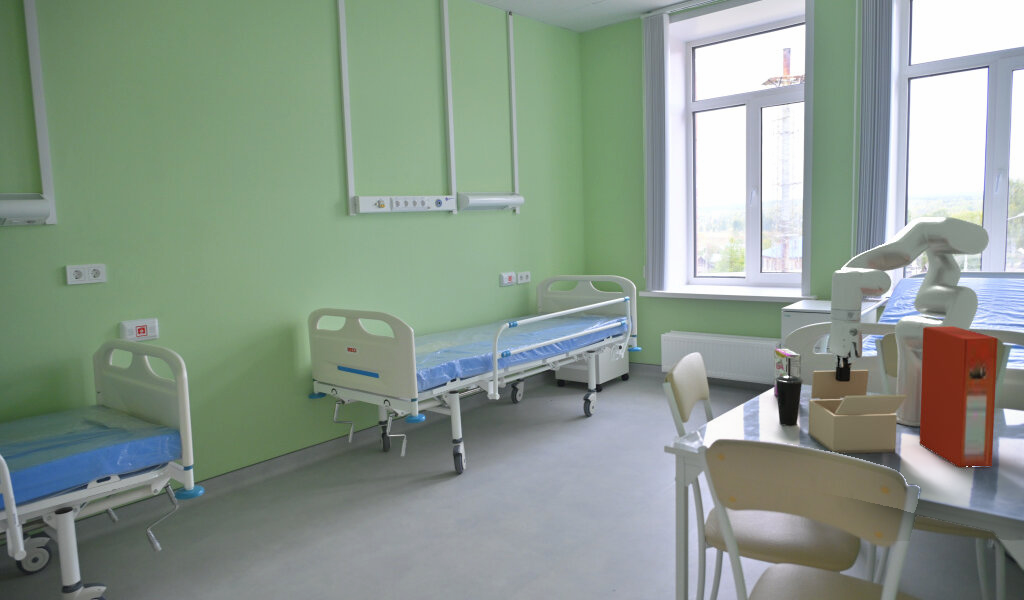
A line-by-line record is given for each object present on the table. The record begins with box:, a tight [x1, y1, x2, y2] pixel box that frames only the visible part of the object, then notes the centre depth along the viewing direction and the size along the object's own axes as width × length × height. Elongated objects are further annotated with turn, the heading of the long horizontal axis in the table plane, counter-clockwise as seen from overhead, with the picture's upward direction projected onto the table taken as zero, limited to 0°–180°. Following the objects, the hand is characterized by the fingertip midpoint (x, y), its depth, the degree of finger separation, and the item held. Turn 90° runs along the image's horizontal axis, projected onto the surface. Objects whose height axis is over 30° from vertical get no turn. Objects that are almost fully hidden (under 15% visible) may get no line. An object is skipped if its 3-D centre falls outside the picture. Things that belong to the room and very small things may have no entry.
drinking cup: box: [775, 358, 804, 427], centre depth 200 cm, size 8×8×20 cm
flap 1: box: [810, 369, 869, 399], centre depth 189 cm, size 15×8×1 cm
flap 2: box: [835, 394, 907, 414], centre depth 171 cm, size 15×8×1 cm
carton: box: [808, 398, 898, 454], centre depth 183 cm, size 16×16×10 cm
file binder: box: [919, 326, 998, 468], centre depth 170 cm, size 8×17×32 cm, turn 177°
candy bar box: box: [773, 348, 802, 404], centre depth 227 cm, size 11×5×16 cm, turn 179°
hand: (842, 380), depth 186 cm, fingers closed
